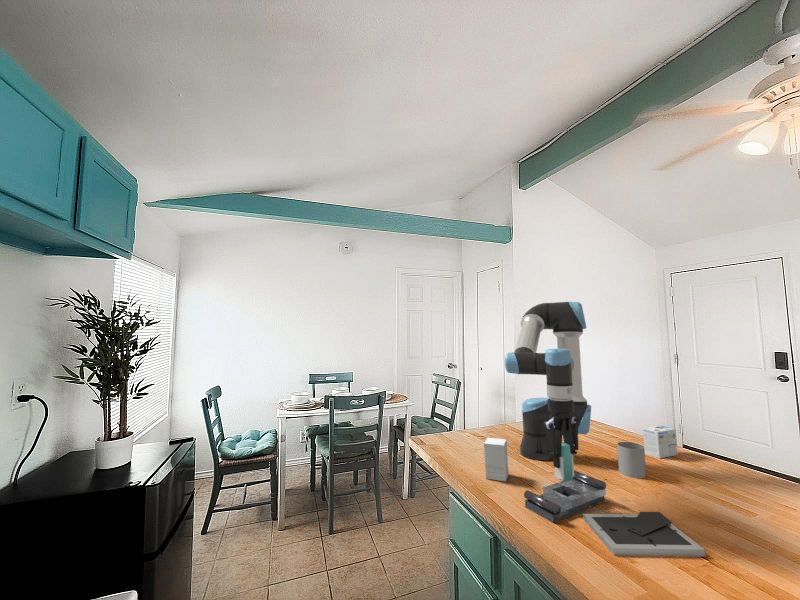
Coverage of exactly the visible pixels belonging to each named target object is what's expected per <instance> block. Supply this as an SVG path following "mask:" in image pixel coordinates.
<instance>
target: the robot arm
mask: <svg viewBox="0 0 800 600" xmlns="http://www.w3.org/2000/svg"><path fill="white" fill-rule="evenodd" d="M520 327H521V329H520V333H519V335H518V340H517V342H516V345H515V348H514V351H512V352H507V353H506V354H505V356H504V367H505V371H506V373H509V374H515V375H538V376H539V375H540V376H546V397H532V398H528V399H527V398H526V399H525V400H523V402H522V403H521V404H522V406H521V409H522V410H521V413H522V414H521V415H522V431H523V432H522V433H523V435H522V439H521V443H520V445H519V454H521V456H523V457H524V458H527V459H531V460H535V461H553V469H554V477H555V478H557V479H558V478H559V479H558V480H560V479H561V480H560V481H562V480H564V465H563V457H561V448H562V443H566V444H569V445H570V453H571V470H572V477H574V470H575V455H577V454H578V451H579V447H580V446H579V435H587V434H589V432H590V427H591V415H592V405H591V404H588V399H586V397H584V395H583V380H582V379H583V378H582V364H581V362H582V361H581V349H580V348H581V347H580V337H581V336H582V335H583V334H584V330H586V329H587V323H586V318H585V313H584V310H583V305H582V303H581V302H579V301H559V302H543V303H538V304H536V305H534V306H532V307H531V308H529V309H528V310H527V311H526V312H525V313H524V314H523V315H522V318H521V321H520ZM543 330H552V334H553V335H554V336H555V337H556V342H557V346H556V347H557V348H547V349H546V350H545V352H537V350H538V347H539V346H538V345H539V342H540V341H539V340H540V336H541V332H543Z"/></svg>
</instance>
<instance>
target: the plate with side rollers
mask: <svg viewBox="0 0 800 600" xmlns="http://www.w3.org/2000/svg"><path fill="white" fill-rule="evenodd" d="M606 490H607V483H606V482H605V480H604V481H603V480H601V479H598V478H595V477H593V476H590V475H588V474H585V473H582V472H581V471H577V470H575V469H574V477H572V480H571V481H562V480H560V481H558V482H555V483H553V484H549V485H547V486H543V487H542V492H543V493H542V494H539V495H538V494H536V493H535V492H532V491H530V490H528V489H527V490H525V491H524V492H523V493H524V494H523V495H524V496H523V497H524V498H525V500H524V506H525V507H524V508H525V509H527V510H529V511H530V512H531V511H532V512H533V513H535V514H537V515H538V516H540V517H542V518H544V519H545V520H546V521H549V522H551V523H553V524H555V523H557V522H559V521H561V520H564V519H567V518H569V517H572V516H574V515H577V514H581V513H582V512H584V511H587V510H589V509H591V507H594V506H596V505H598V504H601V503H604V502H605V501H606V500H605V497H606V495H607V494H606V493H607V491H606Z"/></svg>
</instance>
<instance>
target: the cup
mask: <svg viewBox="0 0 800 600" xmlns="http://www.w3.org/2000/svg"><path fill="white" fill-rule="evenodd" d="M616 448H617V461H618V463H617V464H618V472H619V474H621V475H622V476H625V477H628V478H632V479H633V478H634V479H644V478H646V477H647V469H646V468H647V467H646V455H645V446H643V444H640V443H637V442H632V441H630V442H629V441H619V442H617V444H616Z"/></svg>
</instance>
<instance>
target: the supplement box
mask: <svg viewBox="0 0 800 600" xmlns="http://www.w3.org/2000/svg"><path fill="white" fill-rule="evenodd" d="M507 441H508V439H503V438H496V437H487V438H486V440H485V441H484V443H483V449H484V451H483V452H484V453H483V454H484V472H485V479H486V480H491V481H493V480H494V481H499V482H507V479H508V477H509V460H508V442H507Z"/></svg>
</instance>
